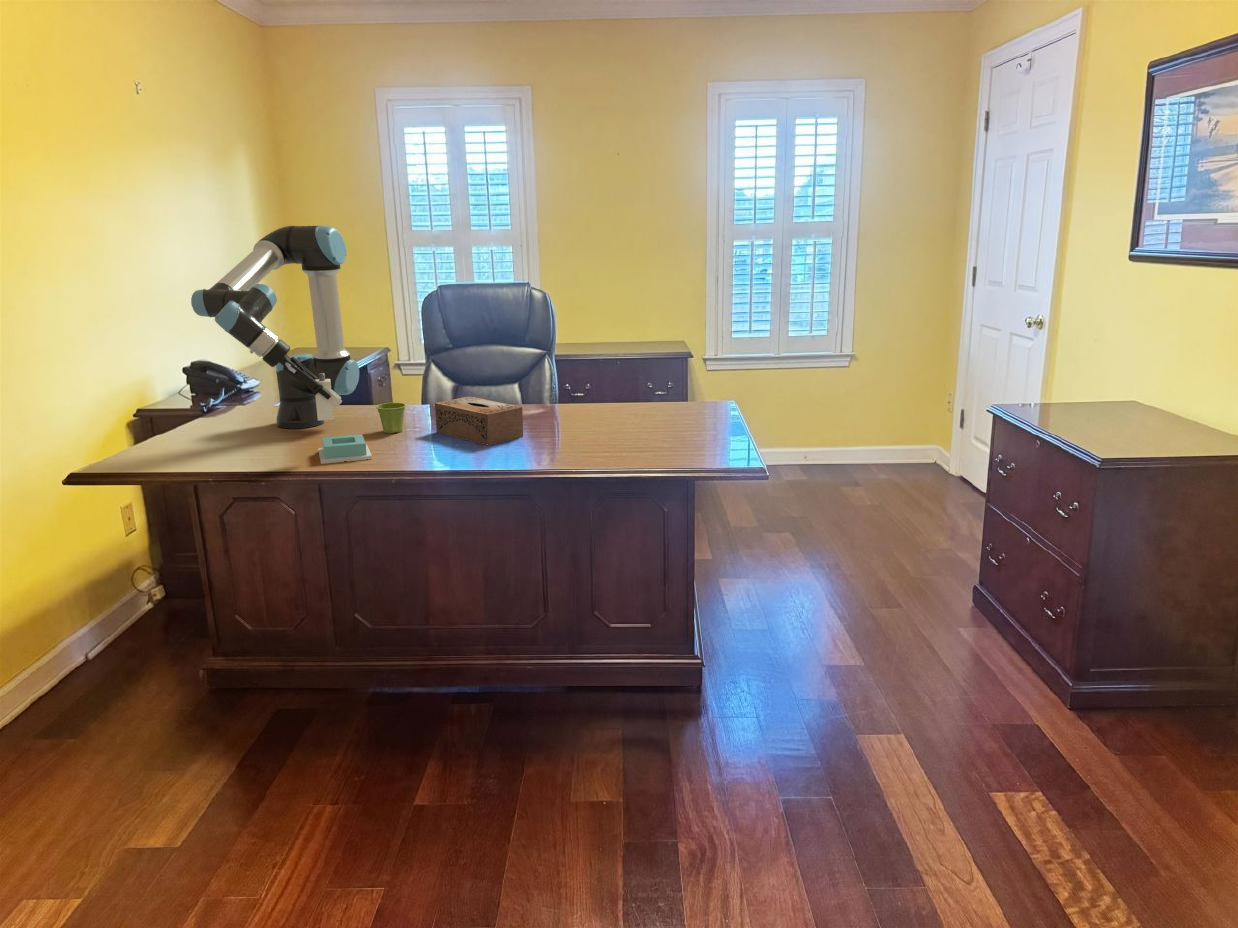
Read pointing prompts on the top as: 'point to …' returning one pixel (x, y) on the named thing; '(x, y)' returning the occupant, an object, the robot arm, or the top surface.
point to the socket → (344, 449)
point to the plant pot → (391, 416)
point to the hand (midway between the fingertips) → (338, 402)
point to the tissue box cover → (479, 420)
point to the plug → (322, 405)
